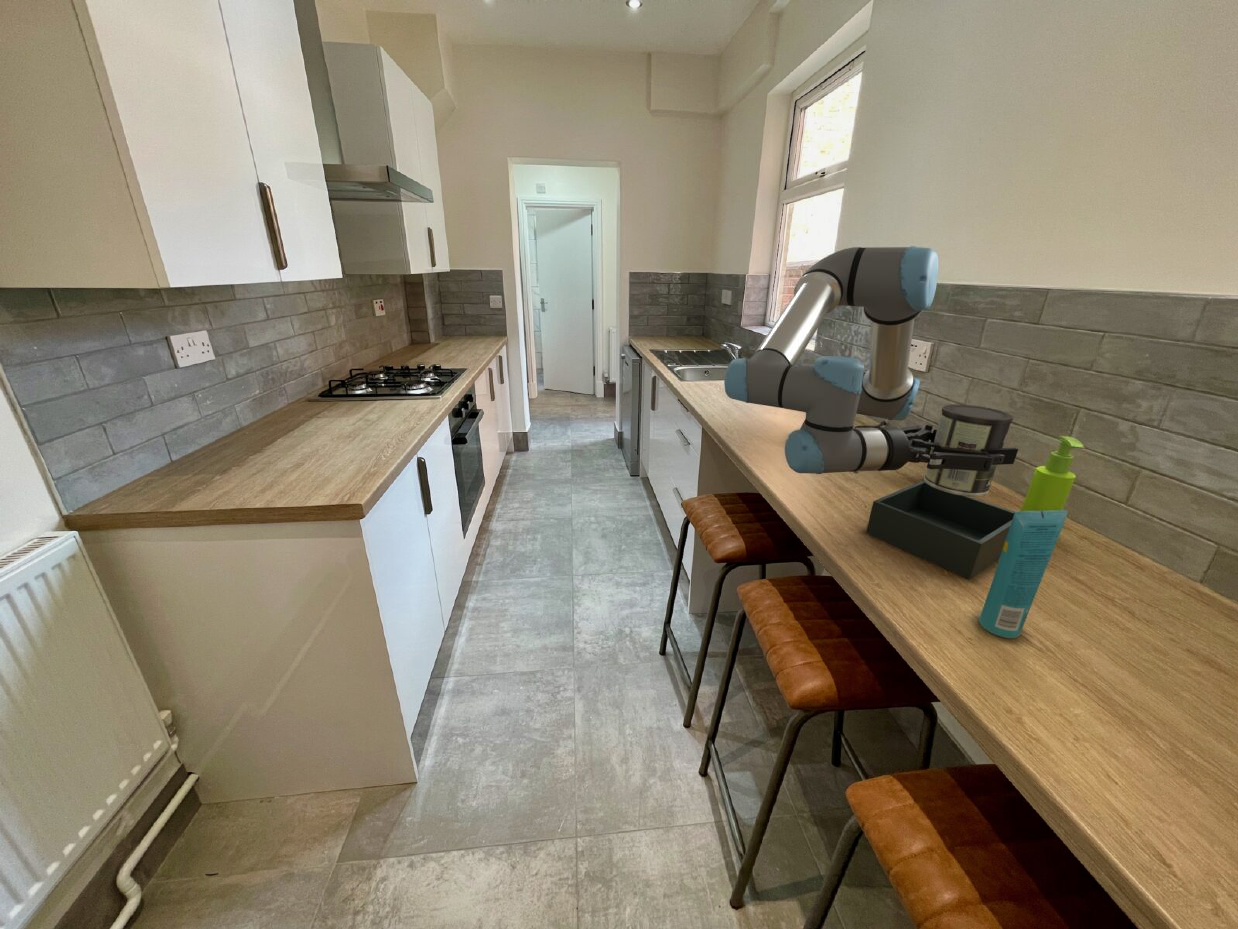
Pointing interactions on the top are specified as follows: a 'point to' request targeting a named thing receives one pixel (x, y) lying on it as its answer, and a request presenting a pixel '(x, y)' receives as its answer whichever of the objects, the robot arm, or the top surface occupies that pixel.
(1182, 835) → the top surface
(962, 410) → the coffee can
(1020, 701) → the top surface
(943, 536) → the storage bin
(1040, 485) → the soap dispenser
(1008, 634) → the tube
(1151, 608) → the top surface
